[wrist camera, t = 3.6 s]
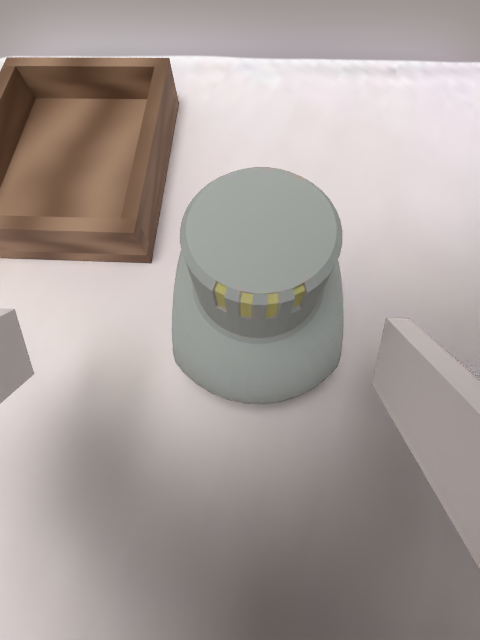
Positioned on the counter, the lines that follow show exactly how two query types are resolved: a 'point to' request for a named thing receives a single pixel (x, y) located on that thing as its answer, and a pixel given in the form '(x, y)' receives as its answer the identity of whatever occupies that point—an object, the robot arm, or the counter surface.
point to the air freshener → (258, 287)
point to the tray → (84, 156)
